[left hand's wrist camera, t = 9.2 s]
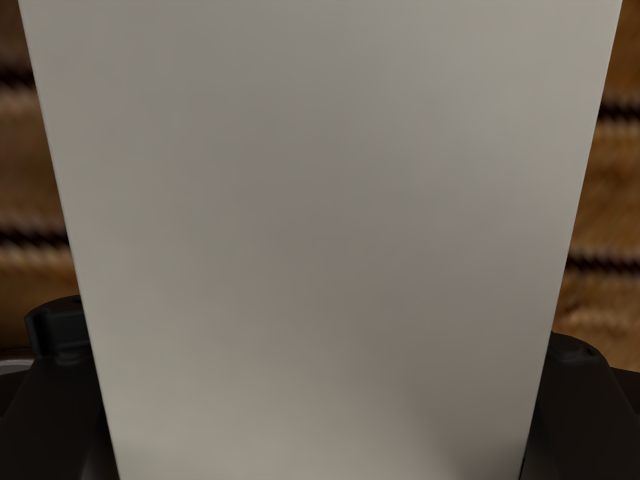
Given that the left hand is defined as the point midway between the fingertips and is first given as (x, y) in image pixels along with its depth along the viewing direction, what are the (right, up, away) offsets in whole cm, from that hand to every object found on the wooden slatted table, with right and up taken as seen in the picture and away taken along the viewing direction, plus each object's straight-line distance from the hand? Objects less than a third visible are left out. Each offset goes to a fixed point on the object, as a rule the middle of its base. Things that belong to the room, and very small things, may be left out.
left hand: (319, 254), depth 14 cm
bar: (0, +9, -3) cm, 10 cm away
